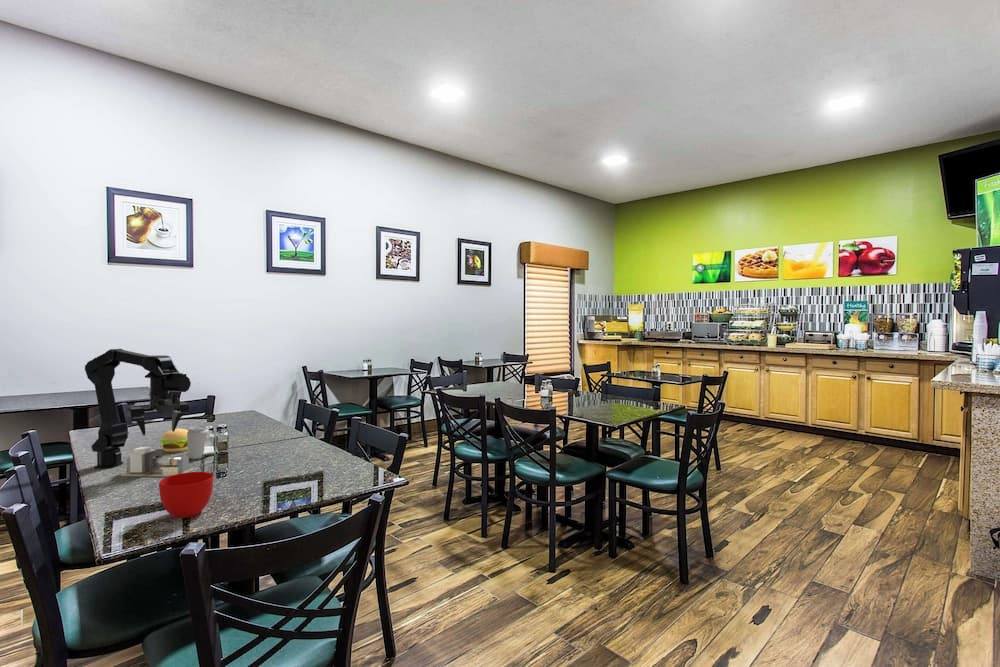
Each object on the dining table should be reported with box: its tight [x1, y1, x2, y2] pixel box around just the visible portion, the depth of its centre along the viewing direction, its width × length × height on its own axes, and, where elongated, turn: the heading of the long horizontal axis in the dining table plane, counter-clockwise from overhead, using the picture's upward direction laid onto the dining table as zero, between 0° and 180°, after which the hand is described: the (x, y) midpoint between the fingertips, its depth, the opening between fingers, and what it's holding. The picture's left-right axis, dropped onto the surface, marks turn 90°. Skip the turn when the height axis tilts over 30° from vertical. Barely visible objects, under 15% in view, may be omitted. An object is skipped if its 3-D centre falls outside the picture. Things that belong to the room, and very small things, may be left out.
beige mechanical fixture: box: [119, 456, 195, 478], centre depth 180 cm, size 20×9×5 cm, turn 90°
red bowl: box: [158, 471, 214, 519], centre depth 144 cm, size 13×17×10 cm
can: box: [186, 425, 210, 460], centre depth 200 cm, size 8×8×12 cm
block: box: [145, 448, 164, 473], centre depth 180 cm, size 2×7×6 cm, turn 0°
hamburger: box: [159, 428, 189, 453], centre depth 212 cm, size 12×12×9 cm
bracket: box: [129, 446, 155, 472], centre depth 180 cm, size 4×6×8 cm, turn 0°
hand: (158, 433), depth 185 cm, fingers open, 9 cm apart
